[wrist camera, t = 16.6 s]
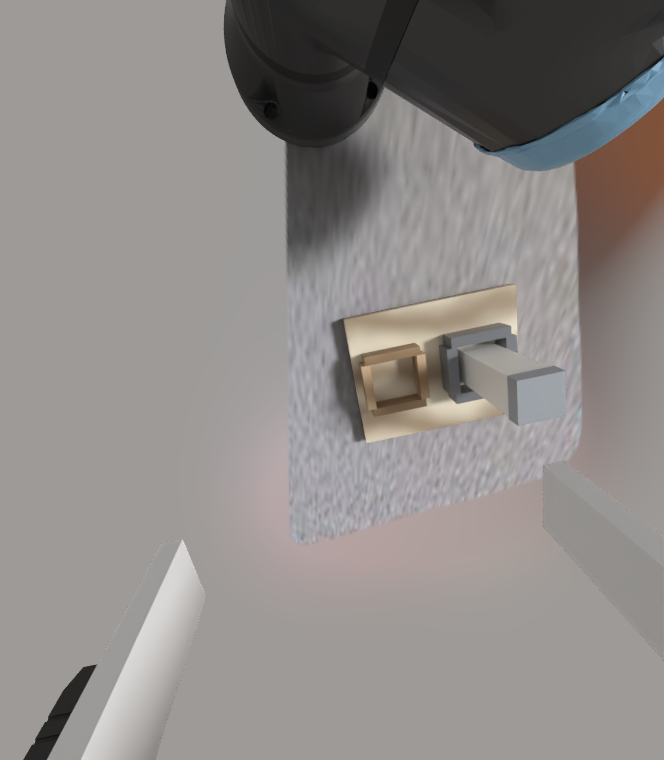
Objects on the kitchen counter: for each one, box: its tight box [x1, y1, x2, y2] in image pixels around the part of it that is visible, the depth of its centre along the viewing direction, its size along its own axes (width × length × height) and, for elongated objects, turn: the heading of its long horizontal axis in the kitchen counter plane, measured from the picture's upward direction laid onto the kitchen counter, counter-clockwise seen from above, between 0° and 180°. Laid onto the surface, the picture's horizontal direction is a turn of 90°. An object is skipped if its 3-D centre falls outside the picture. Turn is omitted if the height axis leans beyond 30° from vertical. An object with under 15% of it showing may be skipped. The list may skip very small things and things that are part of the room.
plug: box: [457, 341, 566, 426], centre depth 36 cm, size 4×4×13 cm
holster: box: [359, 343, 430, 417], centre depth 41 cm, size 7×7×2 cm
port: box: [439, 323, 517, 404], centre depth 41 cm, size 10×8×2 cm
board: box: [343, 284, 518, 443], centre depth 43 cm, size 16×20×1 cm
